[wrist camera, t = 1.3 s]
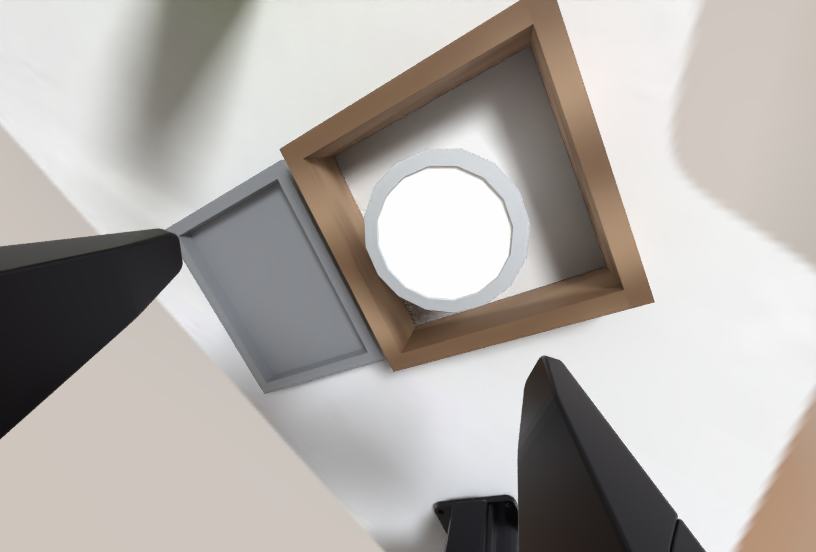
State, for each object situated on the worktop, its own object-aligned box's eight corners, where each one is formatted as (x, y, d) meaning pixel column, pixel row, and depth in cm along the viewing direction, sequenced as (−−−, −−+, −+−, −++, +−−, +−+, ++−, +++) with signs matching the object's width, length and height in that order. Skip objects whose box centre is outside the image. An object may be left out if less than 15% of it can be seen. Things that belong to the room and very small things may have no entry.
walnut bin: (632, 276, 20) (654, 302, 17) (408, 342, 25) (393, 371, 22) (544, 11, 17) (550, -19, 14) (313, 148, 22) (279, 149, 19)
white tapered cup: (397, 249, 23) (353, 289, 17) (418, 134, 20) (374, 131, 14) (506, 277, 22) (502, 333, 15) (542, 159, 19) (556, 168, 13)
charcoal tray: (390, 348, 26) (383, 359, 24) (275, 382, 30) (264, 393, 28) (294, 159, 23) (280, 160, 21) (182, 225, 27) (165, 229, 26)
